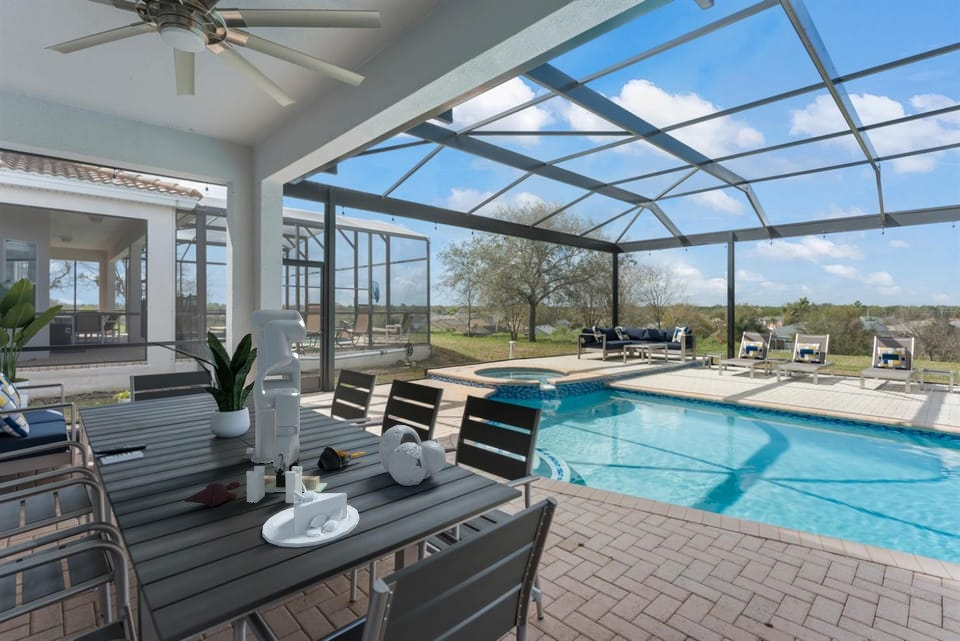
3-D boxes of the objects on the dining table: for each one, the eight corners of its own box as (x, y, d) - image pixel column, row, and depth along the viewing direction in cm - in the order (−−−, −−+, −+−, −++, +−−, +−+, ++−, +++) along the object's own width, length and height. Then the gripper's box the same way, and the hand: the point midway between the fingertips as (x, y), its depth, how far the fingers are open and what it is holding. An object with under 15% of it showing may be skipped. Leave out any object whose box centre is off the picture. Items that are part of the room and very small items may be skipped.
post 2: (285, 503, 139) (285, 472, 139) (293, 496, 145) (292, 466, 144) (295, 503, 139) (295, 472, 139) (302, 496, 145) (302, 466, 144)
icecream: (190, 495, 129) (245, 485, 140) (182, 482, 134) (236, 473, 145) (186, 518, 130) (241, 505, 141) (178, 504, 134) (231, 493, 146)
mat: (246, 492, 148) (246, 490, 148) (257, 484, 155) (257, 482, 155) (319, 493, 147) (319, 491, 147) (327, 484, 154) (327, 483, 154)
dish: (261, 557, 109) (260, 510, 109) (264, 514, 132) (264, 475, 132) (365, 537, 119) (365, 494, 119) (351, 501, 142) (351, 464, 142)
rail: (255, 487, 150) (255, 478, 150) (260, 484, 153) (260, 475, 153) (316, 488, 149) (316, 479, 149) (319, 485, 152) (319, 476, 152)
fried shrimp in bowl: (308, 457, 168) (344, 432, 183) (323, 483, 169) (358, 455, 184) (321, 453, 163) (357, 427, 177) (336, 479, 164) (371, 451, 178)
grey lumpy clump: (399, 476, 142) (411, 410, 153) (360, 484, 159) (374, 423, 170) (450, 491, 153) (458, 428, 164) (408, 497, 169) (419, 439, 181)
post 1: (246, 502, 140) (246, 471, 139) (255, 495, 145) (255, 466, 145) (256, 502, 139) (256, 472, 139) (264, 495, 145) (264, 466, 145)
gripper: (287, 423, 159) (288, 472, 160) (263, 436, 142) (263, 491, 142) (309, 423, 159) (309, 472, 160) (287, 436, 142) (287, 491, 142)
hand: (287, 481), depth 151 cm, fingers open, 9 cm apart
